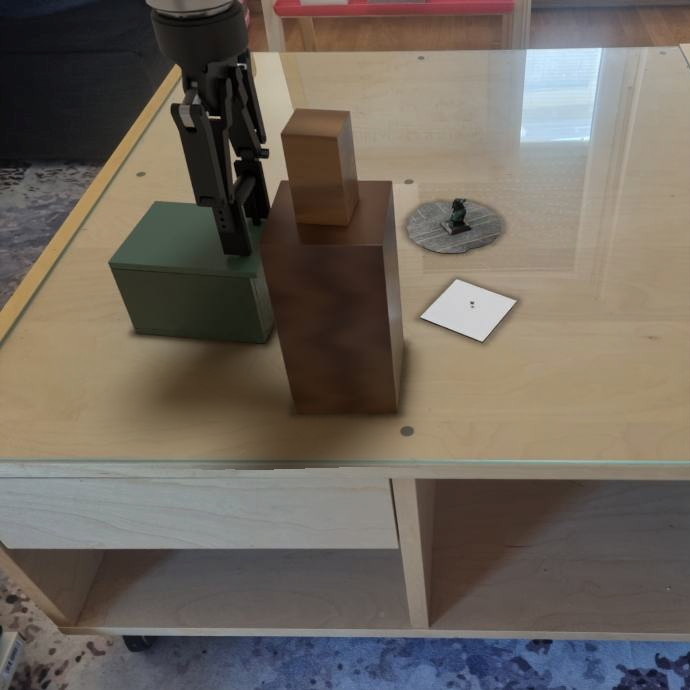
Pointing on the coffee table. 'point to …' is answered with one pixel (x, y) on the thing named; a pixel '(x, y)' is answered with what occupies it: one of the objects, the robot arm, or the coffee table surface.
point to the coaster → (469, 310)
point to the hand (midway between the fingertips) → (248, 234)
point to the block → (321, 166)
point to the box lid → (191, 239)
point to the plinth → (337, 303)
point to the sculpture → (453, 226)
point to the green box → (197, 305)
